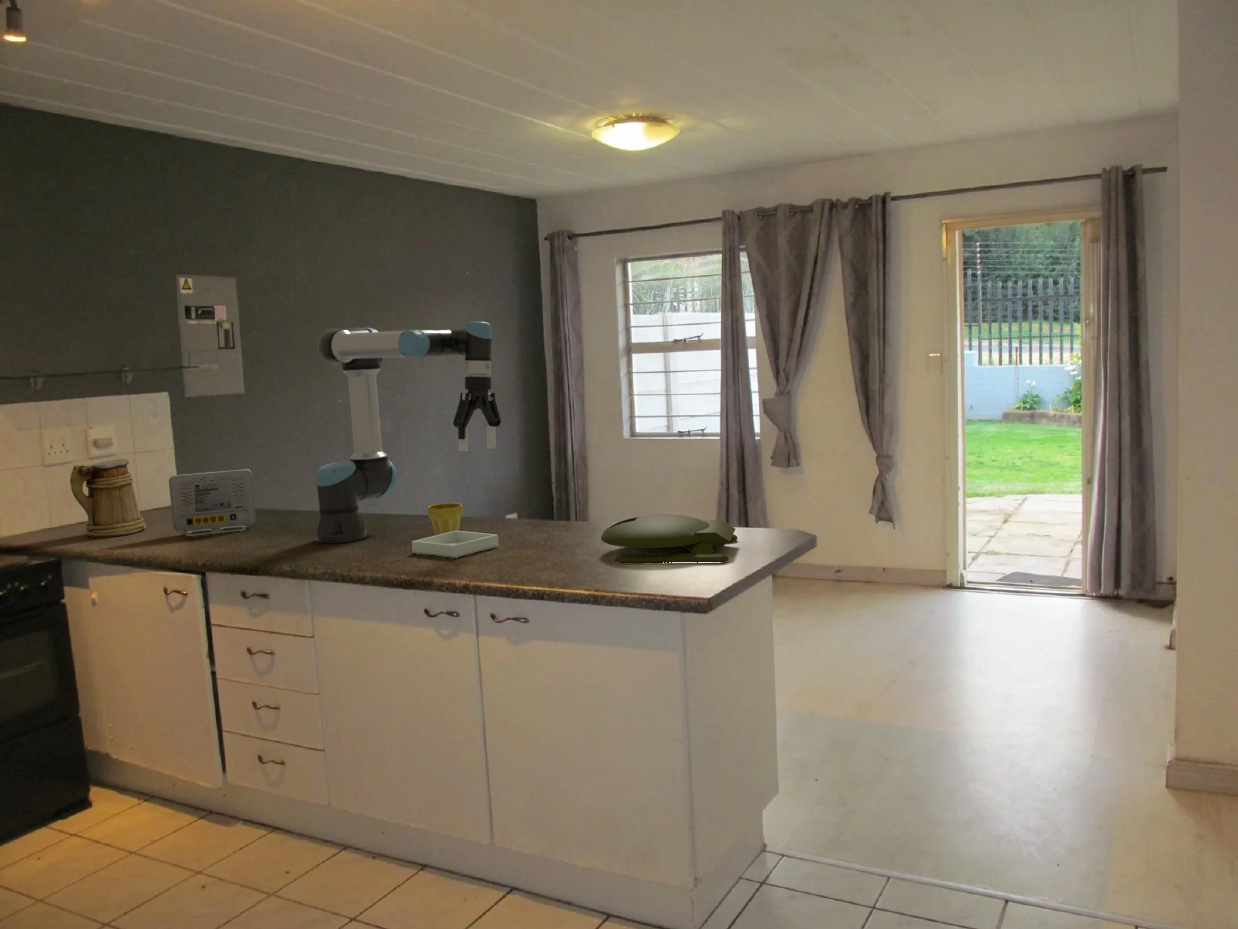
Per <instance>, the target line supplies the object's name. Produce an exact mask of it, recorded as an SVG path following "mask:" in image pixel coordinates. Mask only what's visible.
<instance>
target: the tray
mask: <svg viewBox="0 0 1238 929" xmlns="http://www.w3.org/2000/svg"><path fill="white" fill-rule="evenodd" d="M499 547H500V546H499V534H495V533H486V532H484V533H483V532H474V531H466V530H465V531H464V530H459V531H452V532H447V533H443V534H439V535H432V536H428V537H424V538H420V539H416V540H411V548H412V549H411V550H412V554H413V553H416V554H415V555H420V554H422V555H421V556H429V555H437V556H444V557H443V558H445V557H451V558H450V559H453V558H456V559H459V558H458V557H460V556H464V555H467V556H470V555H469V554H471V555H473V554H472V553H474V554H476V553H475V552H478V551H482V552H485V551H488V550H487V549H489V550H492V549H496V548H499ZM491 548H492V549H491ZM484 550H485V551H484ZM478 553H479V552H478ZM437 556H436V557H437ZM464 557H465V556H464ZM460 558H461V557H460Z"/></svg>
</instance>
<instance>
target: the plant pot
mask: <svg viewBox="0 0 1238 929" xmlns="http://www.w3.org/2000/svg"><path fill="white" fill-rule="evenodd" d="M463 515H464V510H463V504H462V503H460V502H459V503H458V502H445V503H437V504H436V503H435V504H431V505H429V506H427V516H428V519H430V521H431V524H432V525H431V526H432V529H433V532H434V534H435V535H439V534H443V533H447V532H452V531H460V525H461V520H462V519H461V518H462V517H463ZM435 535H434V536H435Z"/></svg>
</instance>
